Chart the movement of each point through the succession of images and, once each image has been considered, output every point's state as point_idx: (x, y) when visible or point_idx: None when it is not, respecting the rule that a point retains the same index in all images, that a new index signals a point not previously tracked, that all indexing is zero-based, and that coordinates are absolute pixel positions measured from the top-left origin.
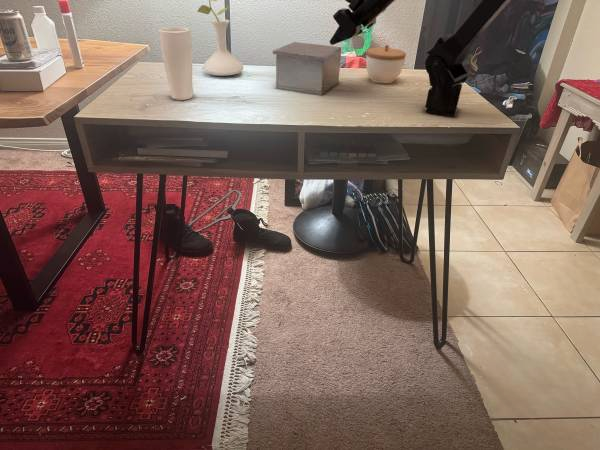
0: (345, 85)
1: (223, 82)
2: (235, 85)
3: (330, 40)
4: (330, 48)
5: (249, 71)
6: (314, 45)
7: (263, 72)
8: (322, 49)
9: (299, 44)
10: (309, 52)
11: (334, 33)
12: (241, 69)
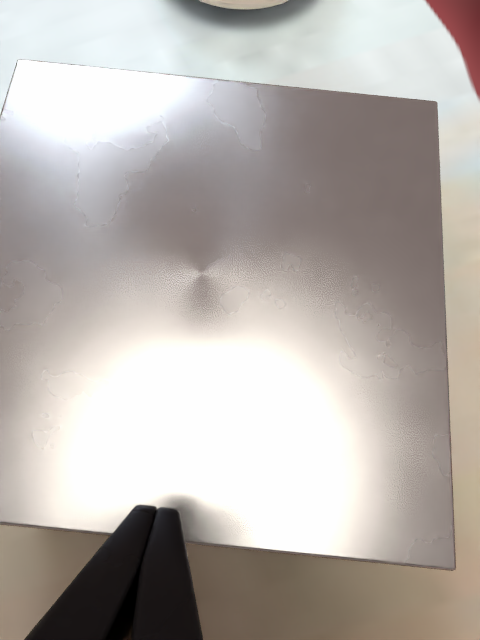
0: (308, 586)
1: (106, 5)
2: (77, 58)
3: (120, 523)
4: (326, 469)
5: (336, 32)
6: (386, 285)
7: (352, 88)
8: (237, 404)
9: (355, 162)
10: (45, 327)
11: (41, 621)
12: (239, 2)
